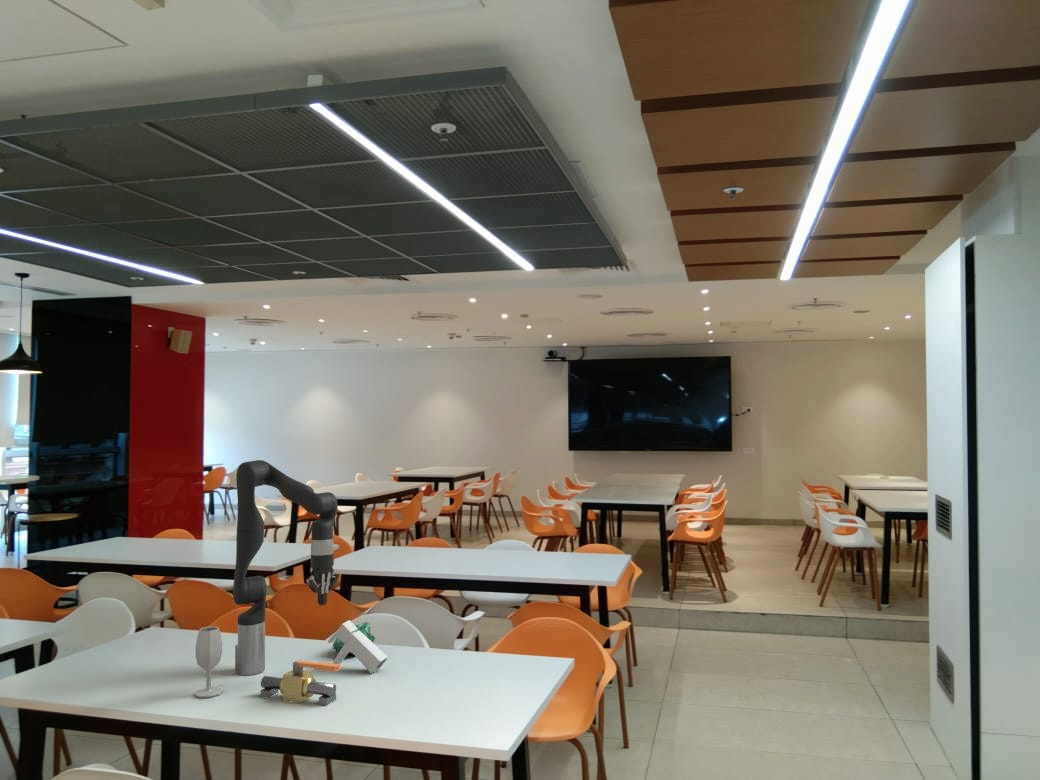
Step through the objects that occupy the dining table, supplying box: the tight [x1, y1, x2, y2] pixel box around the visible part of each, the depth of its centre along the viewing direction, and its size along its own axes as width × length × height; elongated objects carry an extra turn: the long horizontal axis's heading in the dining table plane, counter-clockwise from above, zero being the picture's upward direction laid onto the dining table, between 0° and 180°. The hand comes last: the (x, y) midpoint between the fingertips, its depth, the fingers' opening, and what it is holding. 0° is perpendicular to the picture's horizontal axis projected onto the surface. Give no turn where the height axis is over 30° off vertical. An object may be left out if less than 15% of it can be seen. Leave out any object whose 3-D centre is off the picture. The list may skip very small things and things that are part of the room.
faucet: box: [327, 620, 389, 675], centre depth 267 cm, size 6×16×20 cm
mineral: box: [332, 621, 376, 655], centre depth 288 cm, size 18×16×10 cm
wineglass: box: [194, 625, 224, 699], centre depth 245 cm, size 9×9×21 cm
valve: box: [260, 669, 337, 706], centre depth 239 cm, size 26×6×8 cm, turn 70°
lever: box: [292, 660, 341, 674], centre depth 236 cm, size 17×3×4 cm, turn 68°
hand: (322, 604), depth 251 cm, fingers closed
